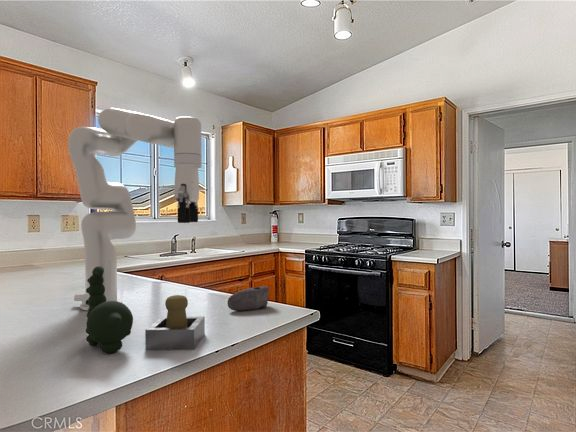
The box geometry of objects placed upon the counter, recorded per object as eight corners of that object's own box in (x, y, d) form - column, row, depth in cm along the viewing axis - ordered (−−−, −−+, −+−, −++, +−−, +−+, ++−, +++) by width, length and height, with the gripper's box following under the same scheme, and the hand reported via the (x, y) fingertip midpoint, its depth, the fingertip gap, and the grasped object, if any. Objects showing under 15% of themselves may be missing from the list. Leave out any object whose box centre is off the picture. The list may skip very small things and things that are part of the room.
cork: (193, 337, 94) (193, 293, 94) (184, 346, 88) (184, 298, 88) (169, 337, 95) (169, 293, 95) (159, 345, 89) (159, 298, 89)
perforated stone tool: (230, 314, 117) (229, 291, 117) (224, 310, 122) (224, 289, 122) (274, 308, 124) (274, 287, 124) (267, 305, 129) (267, 284, 129)
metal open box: (145, 349, 86) (145, 329, 86) (161, 334, 97) (161, 316, 97) (194, 349, 86) (194, 329, 86) (204, 334, 97) (204, 316, 97)
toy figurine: (75, 342, 96) (94, 364, 76) (74, 267, 97) (91, 269, 77) (115, 335, 102) (142, 354, 82) (113, 264, 103) (139, 265, 83)
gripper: (182, 165, 116) (183, 222, 117) (165, 157, 99) (165, 223, 99) (207, 165, 117) (207, 221, 117) (194, 157, 99) (194, 223, 99)
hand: (188, 222), depth 108 cm, fingers open, 9 cm apart
